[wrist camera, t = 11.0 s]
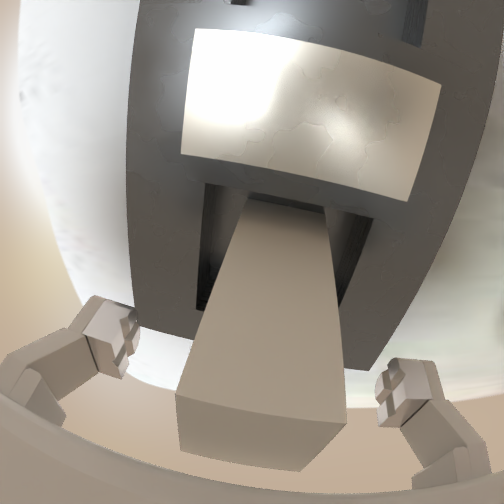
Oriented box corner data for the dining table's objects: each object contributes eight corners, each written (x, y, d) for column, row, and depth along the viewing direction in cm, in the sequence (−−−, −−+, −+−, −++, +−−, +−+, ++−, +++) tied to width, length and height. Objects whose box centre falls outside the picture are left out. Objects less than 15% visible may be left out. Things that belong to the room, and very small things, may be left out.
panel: (204, -121, 6) (185, -149, 3) (473, -60, 5) (503, -77, 3) (156, 291, 19) (136, 326, 16) (363, 332, 18) (369, 372, 16)
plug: (247, 198, 14) (174, 394, 6) (325, 214, 14) (346, 423, 6) (234, 275, 17) (181, 458, 8) (302, 289, 16) (293, 478, 8)
